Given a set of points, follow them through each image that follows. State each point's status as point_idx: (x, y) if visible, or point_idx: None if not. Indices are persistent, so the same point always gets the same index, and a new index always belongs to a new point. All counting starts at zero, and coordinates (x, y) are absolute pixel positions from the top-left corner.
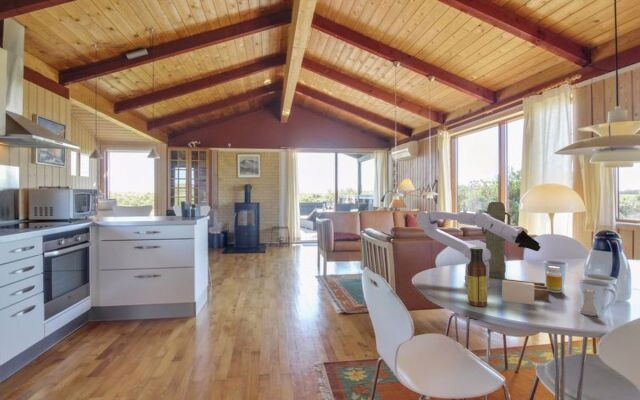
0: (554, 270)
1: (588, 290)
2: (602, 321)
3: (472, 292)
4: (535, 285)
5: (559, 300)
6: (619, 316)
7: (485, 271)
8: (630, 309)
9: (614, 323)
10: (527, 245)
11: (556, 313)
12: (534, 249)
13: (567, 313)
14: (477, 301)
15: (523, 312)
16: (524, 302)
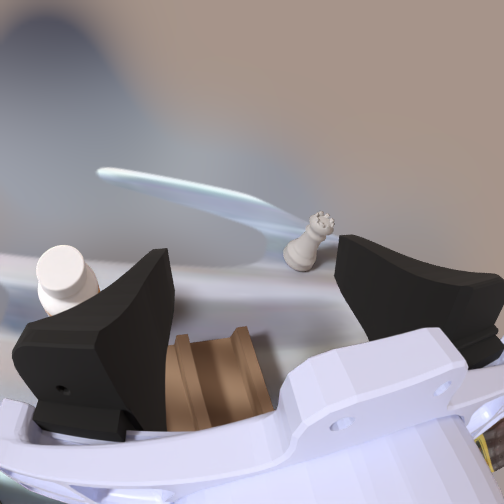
0: (86, 273)
1: (325, 222)
2: (326, 245)
3: None
4: (191, 374)
5: (213, 311)
6: (265, 213)
7: (500, 419)
8: (187, 185)
9: None
10: (159, 360)
11: (350, 315)
12: (170, 310)
13: (330, 296)
14: None
15: None
16: None
